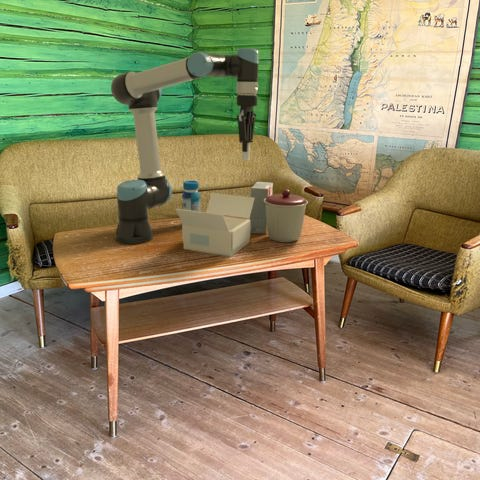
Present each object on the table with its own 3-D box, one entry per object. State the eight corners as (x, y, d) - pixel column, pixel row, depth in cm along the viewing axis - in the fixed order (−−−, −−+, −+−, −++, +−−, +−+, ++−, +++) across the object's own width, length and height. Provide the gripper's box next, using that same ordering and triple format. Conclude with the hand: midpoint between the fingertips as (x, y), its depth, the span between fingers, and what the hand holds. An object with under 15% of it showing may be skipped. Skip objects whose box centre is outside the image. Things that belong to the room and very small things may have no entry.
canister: (273, 247, 192) (276, 195, 185) (255, 234, 208) (256, 186, 201) (313, 243, 198) (317, 192, 192) (293, 230, 214) (295, 183, 208)
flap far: (211, 192, 203) (212, 193, 204) (206, 212, 201) (206, 212, 201) (254, 197, 196) (254, 198, 197) (248, 218, 194) (249, 218, 194)
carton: (181, 249, 189) (181, 224, 186) (203, 236, 204) (203, 213, 201) (232, 257, 181) (232, 231, 178) (250, 243, 196) (251, 219, 193)
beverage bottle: (200, 228, 216) (200, 183, 210) (181, 228, 215) (180, 183, 209) (201, 222, 224) (200, 180, 218) (182, 222, 223) (181, 180, 217)
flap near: (183, 223, 185) (183, 224, 185) (176, 208, 178) (175, 209, 178) (229, 230, 178) (229, 231, 177) (223, 214, 171) (222, 215, 170)
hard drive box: (266, 234, 208) (267, 189, 202) (248, 233, 210) (249, 188, 204) (271, 224, 223) (273, 182, 217) (255, 223, 224) (256, 181, 218)
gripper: (249, 95, 167) (248, 163, 175) (263, 94, 179) (261, 158, 186) (230, 94, 170) (229, 161, 177) (244, 94, 181) (243, 157, 189)
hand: (245, 160), depth 182 cm, fingers closed
